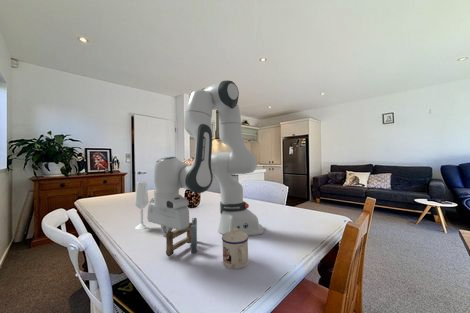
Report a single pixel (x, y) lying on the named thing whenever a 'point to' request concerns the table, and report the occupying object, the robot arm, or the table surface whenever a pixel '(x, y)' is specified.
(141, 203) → the champagne flute
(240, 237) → the teacup with lid
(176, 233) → the gate
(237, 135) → the robot arm
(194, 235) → the posts
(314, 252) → the table surface
